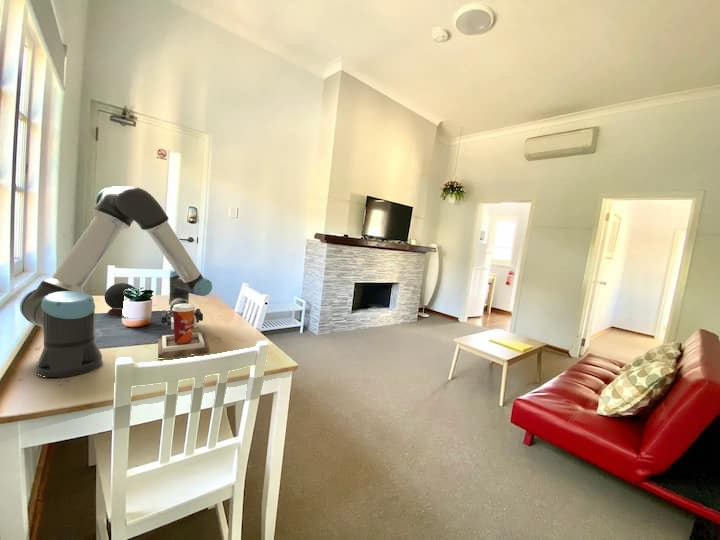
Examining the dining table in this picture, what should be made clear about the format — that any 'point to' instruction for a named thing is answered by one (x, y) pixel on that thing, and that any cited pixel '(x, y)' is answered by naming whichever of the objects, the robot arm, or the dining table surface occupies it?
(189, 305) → the paper cup
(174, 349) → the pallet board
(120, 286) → the round bulbous part
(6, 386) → the dining table surface
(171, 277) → the robot arm
